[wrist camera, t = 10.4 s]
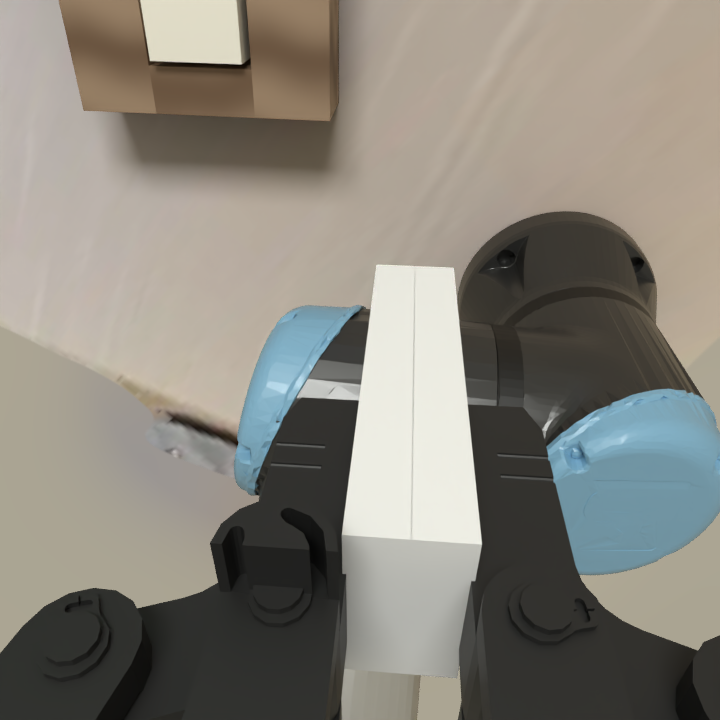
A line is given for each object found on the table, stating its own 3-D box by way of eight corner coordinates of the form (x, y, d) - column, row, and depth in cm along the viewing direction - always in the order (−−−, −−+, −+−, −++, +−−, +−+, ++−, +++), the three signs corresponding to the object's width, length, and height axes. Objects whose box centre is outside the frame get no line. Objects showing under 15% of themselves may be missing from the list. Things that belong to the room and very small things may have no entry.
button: (258, 52, 40) (241, 64, 37) (174, 49, 40) (149, 60, 37) (251, -51, 37) (232, -49, 33) (160, -53, 37) (131, -52, 34)
